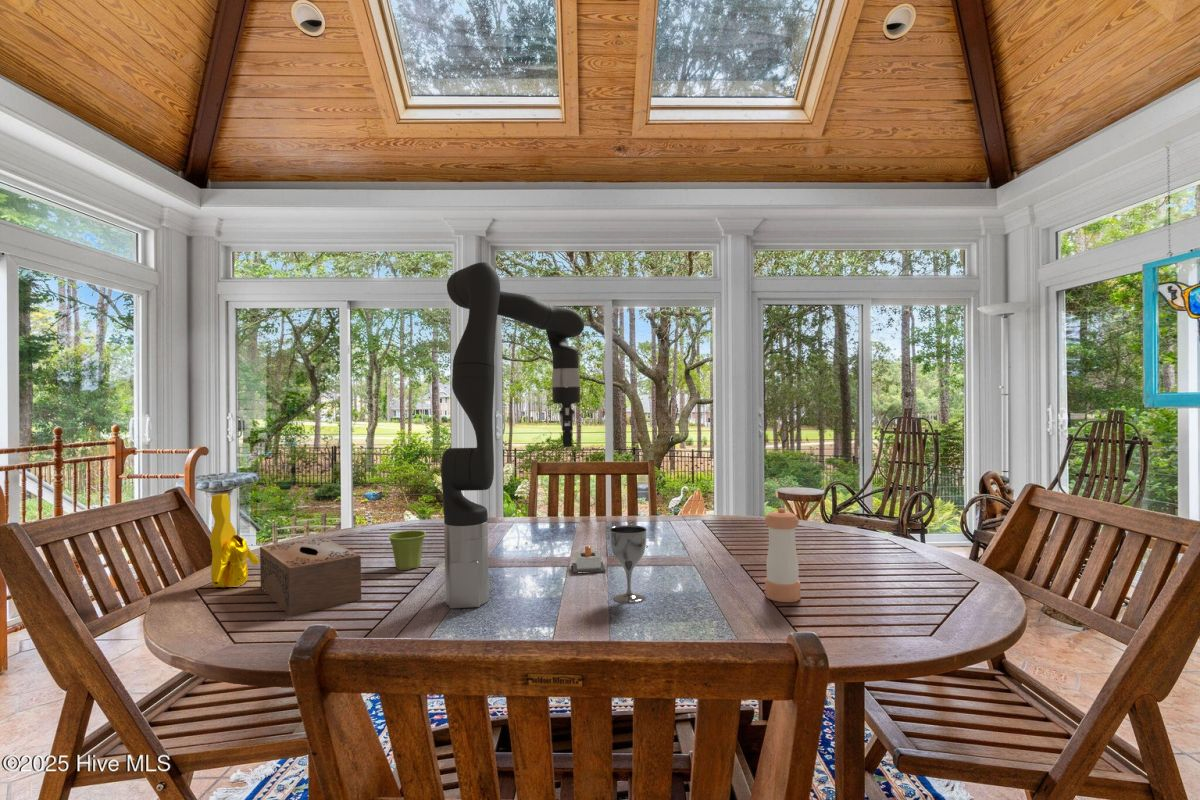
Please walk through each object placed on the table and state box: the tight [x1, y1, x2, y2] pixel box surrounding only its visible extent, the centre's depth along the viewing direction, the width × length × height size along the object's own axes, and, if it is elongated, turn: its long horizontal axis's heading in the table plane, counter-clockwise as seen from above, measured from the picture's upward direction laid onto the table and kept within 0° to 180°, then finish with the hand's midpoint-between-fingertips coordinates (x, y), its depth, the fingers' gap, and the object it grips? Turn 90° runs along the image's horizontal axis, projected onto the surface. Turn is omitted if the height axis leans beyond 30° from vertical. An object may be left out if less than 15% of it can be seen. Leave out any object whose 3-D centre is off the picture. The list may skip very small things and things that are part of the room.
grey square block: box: [574, 550, 602, 570], centre depth 154 cm, size 6×6×3 cm
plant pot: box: [388, 530, 427, 571], centre depth 158 cm, size 9×9×9 cm
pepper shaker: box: [764, 507, 802, 603], centre depth 130 cm, size 7×7×19 cm
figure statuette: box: [209, 493, 260, 588], centre depth 145 cm, size 18×8×22 cm, turn 1°
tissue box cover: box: [259, 536, 362, 617], centre depth 138 cm, size 26×14×10 cm, turn 41°
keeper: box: [571, 545, 607, 574], centre depth 154 cm, size 8×8×6 cm
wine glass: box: [609, 524, 647, 605], centre depth 131 cm, size 8×8×15 cm
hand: (567, 445), depth 163 cm, fingers open, 8 cm apart
